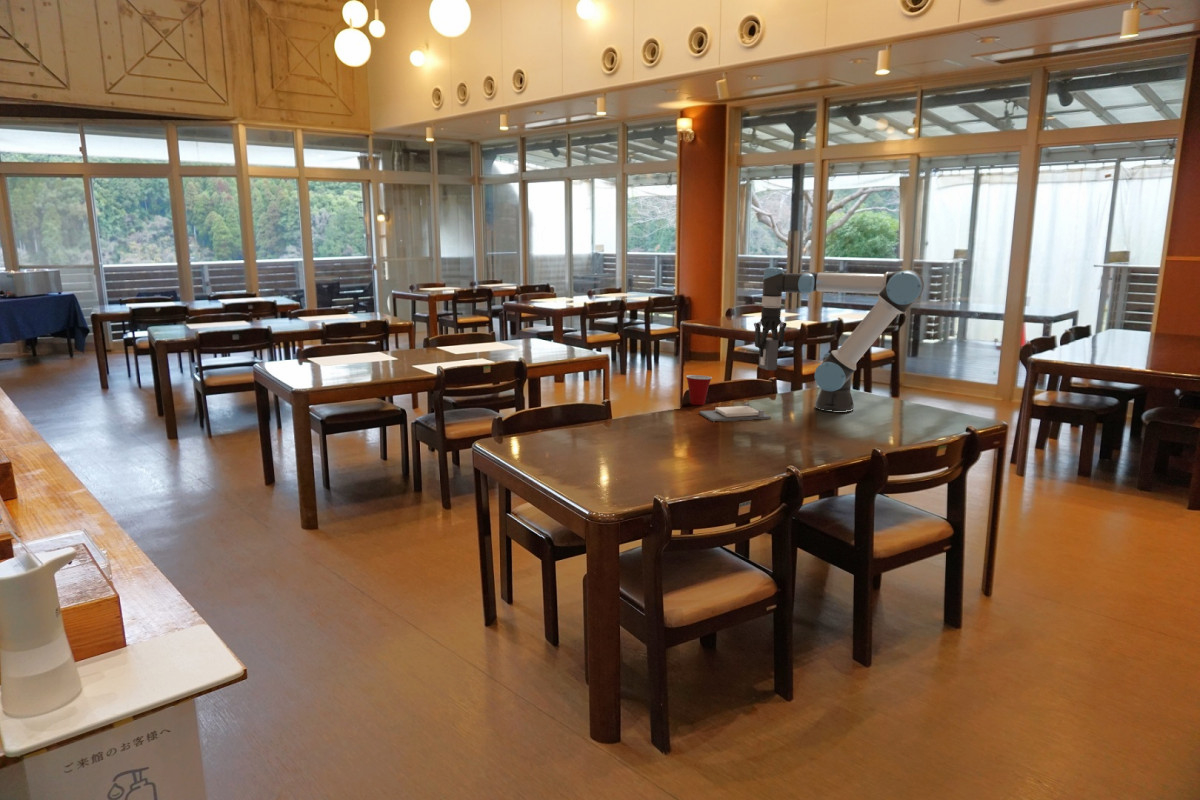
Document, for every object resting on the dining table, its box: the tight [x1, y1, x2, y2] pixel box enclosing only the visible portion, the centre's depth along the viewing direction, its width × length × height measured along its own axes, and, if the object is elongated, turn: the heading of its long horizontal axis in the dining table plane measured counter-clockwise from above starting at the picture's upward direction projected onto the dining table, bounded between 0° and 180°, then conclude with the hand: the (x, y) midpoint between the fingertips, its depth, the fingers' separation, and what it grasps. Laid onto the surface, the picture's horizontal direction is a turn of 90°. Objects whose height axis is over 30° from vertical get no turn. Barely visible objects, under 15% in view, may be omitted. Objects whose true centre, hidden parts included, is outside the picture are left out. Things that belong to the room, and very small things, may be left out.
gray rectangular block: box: [758, 337, 779, 371], centre depth 316 cm, size 4×8×12 cm, turn 15°
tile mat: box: [699, 402, 772, 423], centre depth 307 cm, size 24×14×4 cm, turn 105°
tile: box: [714, 405, 759, 417], centre depth 307 cm, size 2×11×14 cm
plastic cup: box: [685, 374, 713, 406], centre depth 327 cm, size 11×11×12 cm
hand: (767, 364), depth 317 cm, fingers closed on gray rectangular block, 4 cm apart
